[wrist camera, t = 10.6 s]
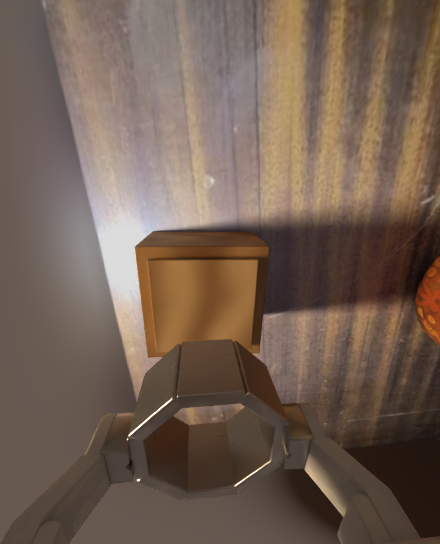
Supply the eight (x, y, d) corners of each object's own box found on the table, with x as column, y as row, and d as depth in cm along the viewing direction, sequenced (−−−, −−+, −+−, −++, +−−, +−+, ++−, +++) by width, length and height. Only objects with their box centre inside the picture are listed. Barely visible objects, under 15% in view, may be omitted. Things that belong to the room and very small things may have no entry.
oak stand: (160, 318, 28) (147, 357, 21) (152, 231, 24) (134, 246, 18) (246, 316, 29) (259, 353, 22) (252, 231, 25) (269, 246, 18)
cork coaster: (157, 349, 21) (156, 352, 21) (148, 258, 18) (146, 260, 18) (250, 345, 22) (251, 349, 21) (257, 258, 19) (258, 259, 18)
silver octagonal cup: (151, 435, 12) (139, 507, 10) (139, 343, 10) (119, 401, 7) (260, 425, 13) (278, 489, 10) (270, 336, 11) (296, 387, 8)
